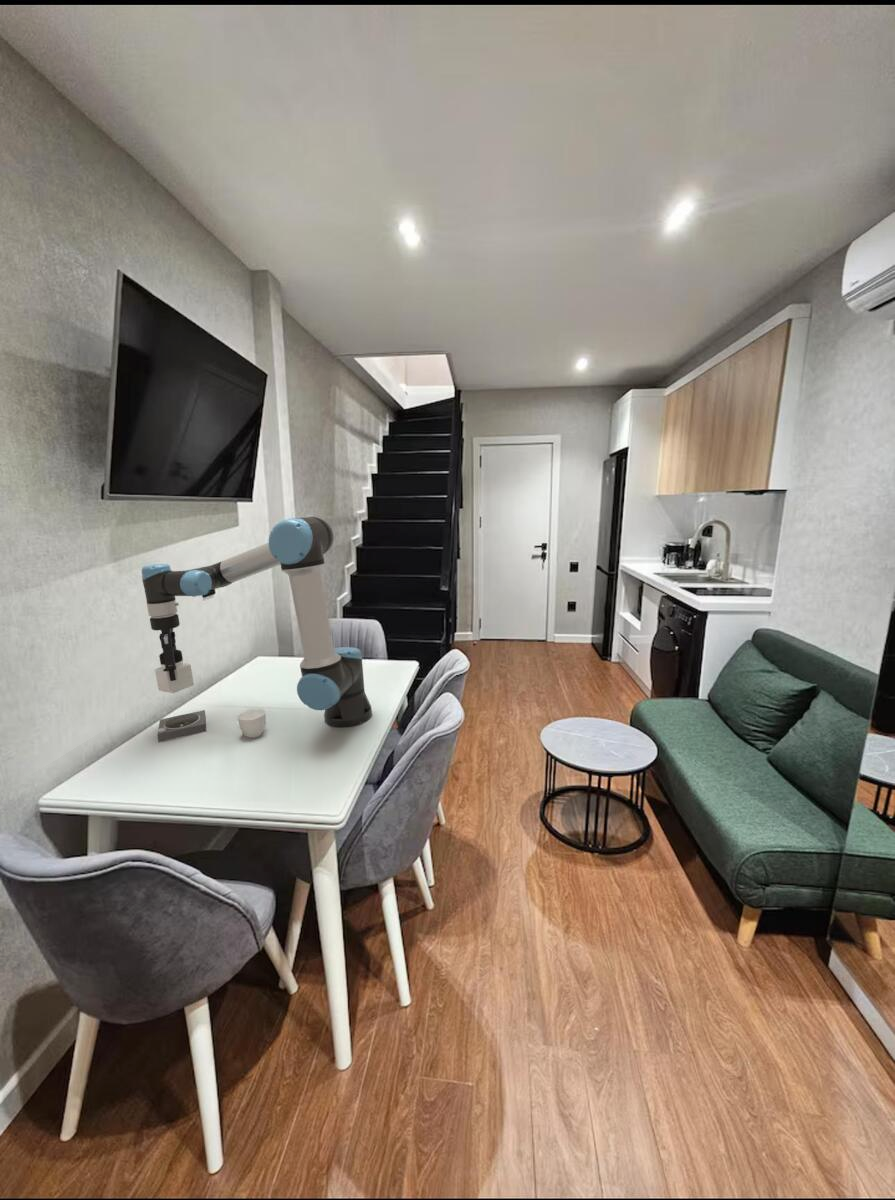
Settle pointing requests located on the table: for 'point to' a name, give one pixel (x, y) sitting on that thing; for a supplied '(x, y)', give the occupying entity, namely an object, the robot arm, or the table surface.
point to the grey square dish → (181, 725)
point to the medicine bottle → (182, 671)
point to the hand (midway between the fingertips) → (175, 684)
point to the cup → (252, 722)
